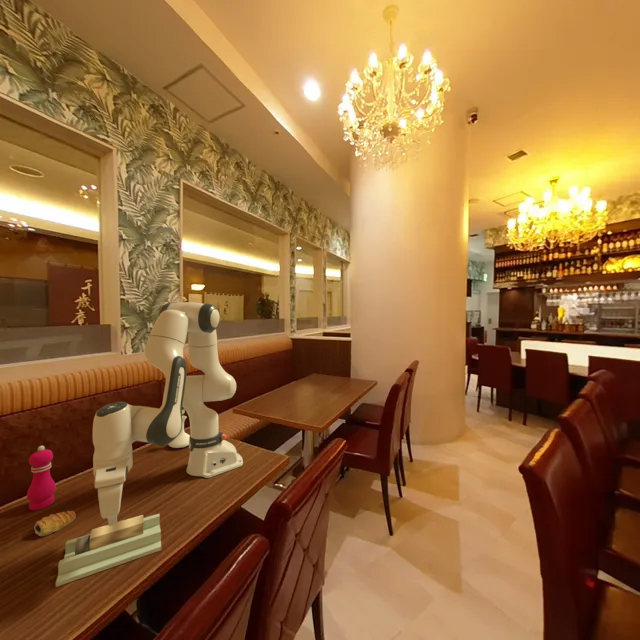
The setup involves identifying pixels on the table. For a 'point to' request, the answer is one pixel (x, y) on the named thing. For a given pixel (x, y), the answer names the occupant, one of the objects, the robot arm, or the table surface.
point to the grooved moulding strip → (109, 553)
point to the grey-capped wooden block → (110, 534)
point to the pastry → (54, 523)
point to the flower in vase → (181, 436)
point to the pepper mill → (41, 480)
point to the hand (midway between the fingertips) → (114, 513)
